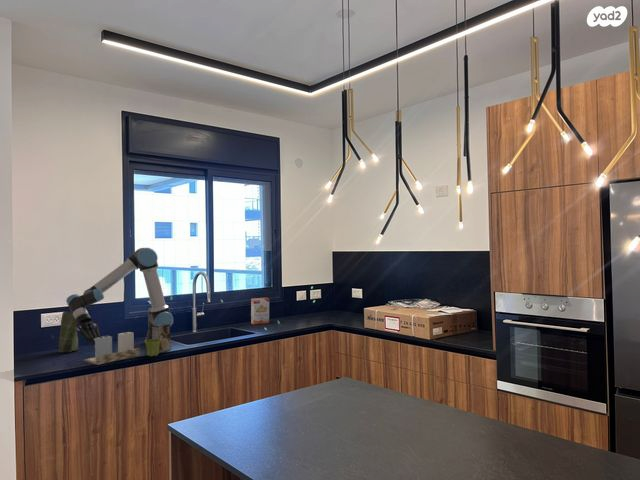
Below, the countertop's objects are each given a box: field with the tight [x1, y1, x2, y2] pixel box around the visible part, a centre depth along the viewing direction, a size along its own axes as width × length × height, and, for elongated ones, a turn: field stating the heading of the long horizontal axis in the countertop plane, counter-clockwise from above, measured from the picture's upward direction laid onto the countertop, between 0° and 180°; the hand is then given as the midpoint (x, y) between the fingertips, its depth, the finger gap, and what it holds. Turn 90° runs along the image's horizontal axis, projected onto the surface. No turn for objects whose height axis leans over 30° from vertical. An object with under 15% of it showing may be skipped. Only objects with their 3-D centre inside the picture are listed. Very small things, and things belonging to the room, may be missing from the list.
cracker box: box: [250, 297, 270, 325], centre depth 383 cm, size 14×6×21 cm, turn 119°
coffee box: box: [152, 324, 172, 354], centre depth 287 cm, size 9×6×16 cm
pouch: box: [57, 310, 79, 354], centre depth 287 cm, size 11×12×25 cm
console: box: [83, 347, 141, 366], centre depth 269 cm, size 26×14×4 cm, turn 147°
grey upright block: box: [94, 335, 113, 360], centre depth 262 cm, size 7×5×12 cm
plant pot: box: [144, 339, 161, 357], centre depth 276 cm, size 9×9×9 cm
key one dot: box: [117, 331, 135, 352], centre depth 274 cm, size 7×5×12 cm
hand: (99, 348), depth 265 cm, fingers closed
